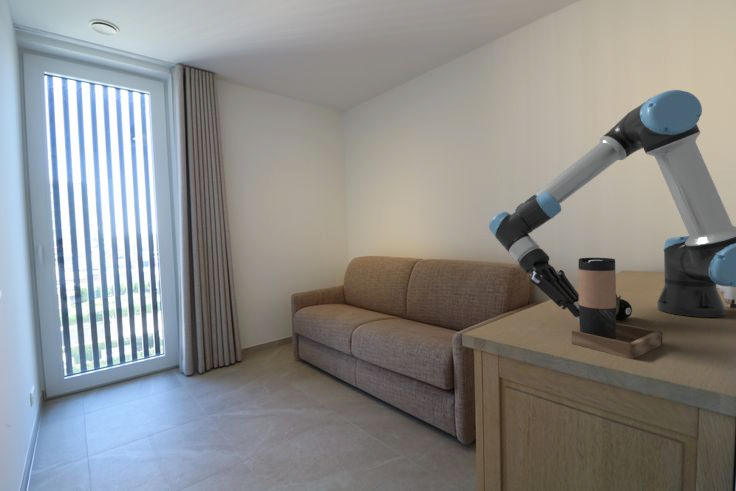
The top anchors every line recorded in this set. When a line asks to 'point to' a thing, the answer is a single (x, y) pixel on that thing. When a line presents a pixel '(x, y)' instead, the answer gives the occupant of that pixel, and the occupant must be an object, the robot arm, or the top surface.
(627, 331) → the shallow wooden tray
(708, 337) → the top surface
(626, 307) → the billiard ball
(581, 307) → the travel mug
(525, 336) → the top surface
